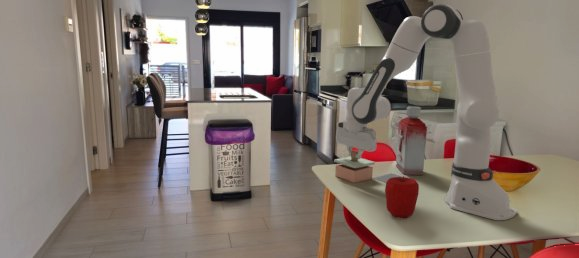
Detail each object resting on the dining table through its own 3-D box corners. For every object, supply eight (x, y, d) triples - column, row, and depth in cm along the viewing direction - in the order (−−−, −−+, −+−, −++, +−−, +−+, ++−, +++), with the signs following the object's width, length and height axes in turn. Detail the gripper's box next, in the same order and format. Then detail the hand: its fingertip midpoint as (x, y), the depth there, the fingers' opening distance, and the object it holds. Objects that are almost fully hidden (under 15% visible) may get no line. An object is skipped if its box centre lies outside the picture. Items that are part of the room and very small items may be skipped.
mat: (416, 182, 158) (416, 181, 158) (397, 188, 150) (397, 186, 150) (391, 174, 168) (391, 173, 168) (372, 179, 160) (372, 178, 160)
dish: (372, 179, 160) (372, 167, 159) (353, 184, 154) (354, 171, 153) (353, 173, 169) (353, 161, 168) (335, 177, 162) (335, 165, 161)
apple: (408, 208, 129) (411, 170, 127) (422, 221, 119) (426, 180, 117) (378, 209, 128) (381, 171, 125) (390, 222, 118) (393, 181, 115)
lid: (374, 164, 159) (375, 152, 158) (354, 168, 152) (355, 156, 151) (353, 158, 168) (354, 147, 167) (334, 161, 161) (334, 150, 160)
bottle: (425, 176, 166) (431, 109, 160) (401, 176, 166) (406, 108, 160) (415, 167, 180) (420, 105, 175) (393, 167, 180) (398, 104, 175)
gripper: (381, 128, 151) (378, 161, 153) (344, 121, 167) (343, 151, 169) (370, 129, 147) (368, 164, 149) (334, 122, 163) (332, 153, 165)
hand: (354, 157), depth 159 cm, fingers closed on lid, 3 cm apart
